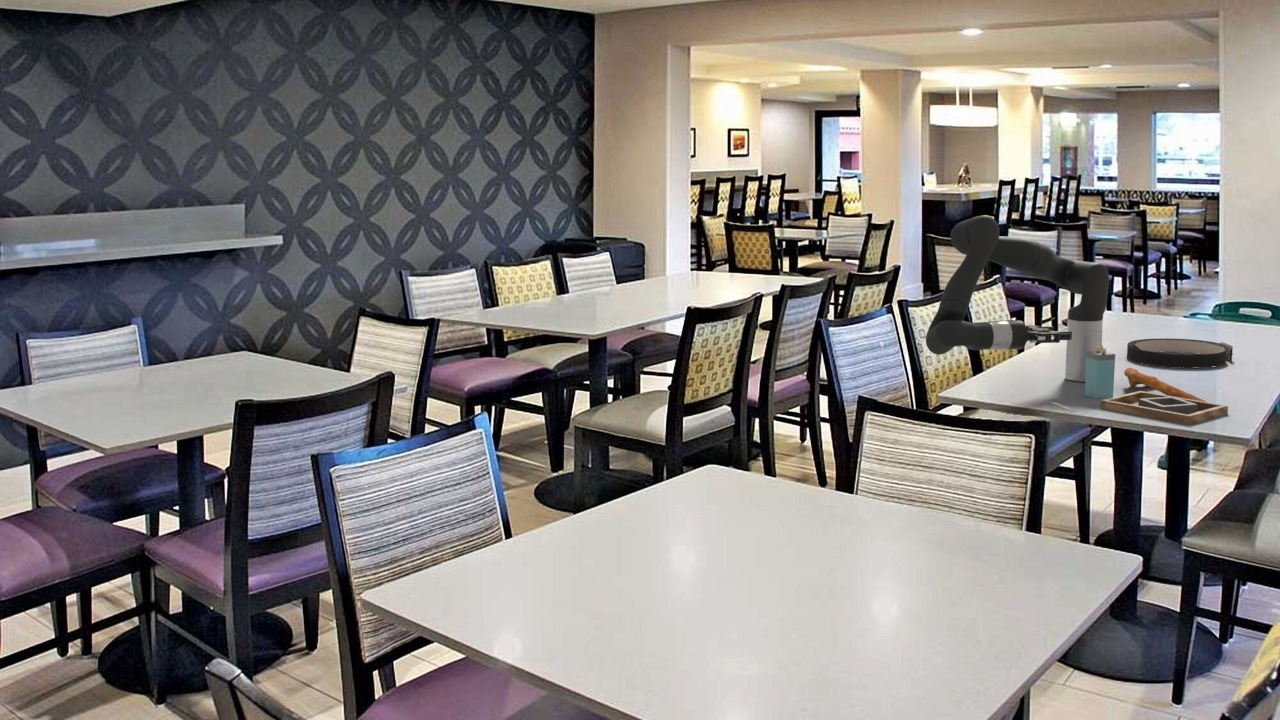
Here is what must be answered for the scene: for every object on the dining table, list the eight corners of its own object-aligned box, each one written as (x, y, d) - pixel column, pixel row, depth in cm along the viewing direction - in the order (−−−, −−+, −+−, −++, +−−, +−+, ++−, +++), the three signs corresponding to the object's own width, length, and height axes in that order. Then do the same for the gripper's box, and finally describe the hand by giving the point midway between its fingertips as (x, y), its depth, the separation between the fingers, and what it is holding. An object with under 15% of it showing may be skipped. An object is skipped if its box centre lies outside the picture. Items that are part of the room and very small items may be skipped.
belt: (1252, 368, 336) (1253, 351, 335) (1150, 370, 336) (1151, 353, 335) (1205, 351, 365) (1206, 336, 364) (1111, 353, 365) (1112, 337, 364)
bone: (1218, 413, 283) (1203, 379, 281) (1187, 429, 284) (1171, 394, 282) (1154, 382, 316) (1140, 351, 313) (1127, 396, 316) (1113, 365, 314)
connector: (1084, 396, 302) (1087, 346, 300) (1102, 395, 303) (1104, 345, 301) (1095, 400, 297) (1098, 349, 295) (1112, 399, 298) (1115, 348, 296)
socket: (1138, 408, 285) (1138, 398, 285) (1172, 406, 287) (1173, 396, 286) (1161, 416, 276) (1162, 406, 275) (1197, 414, 277) (1197, 404, 277)
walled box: (1139, 400, 296) (1140, 390, 296) (1227, 415, 278) (1228, 405, 277) (1100, 409, 287) (1101, 400, 286) (1188, 426, 268) (1189, 416, 268)
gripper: (1018, 324, 285) (1078, 322, 288) (991, 316, 299) (1048, 314, 301) (1016, 354, 286) (1076, 351, 289) (990, 345, 300) (1047, 343, 303)
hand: (1062, 332), depth 295 cm, fingers open, 8 cm apart
